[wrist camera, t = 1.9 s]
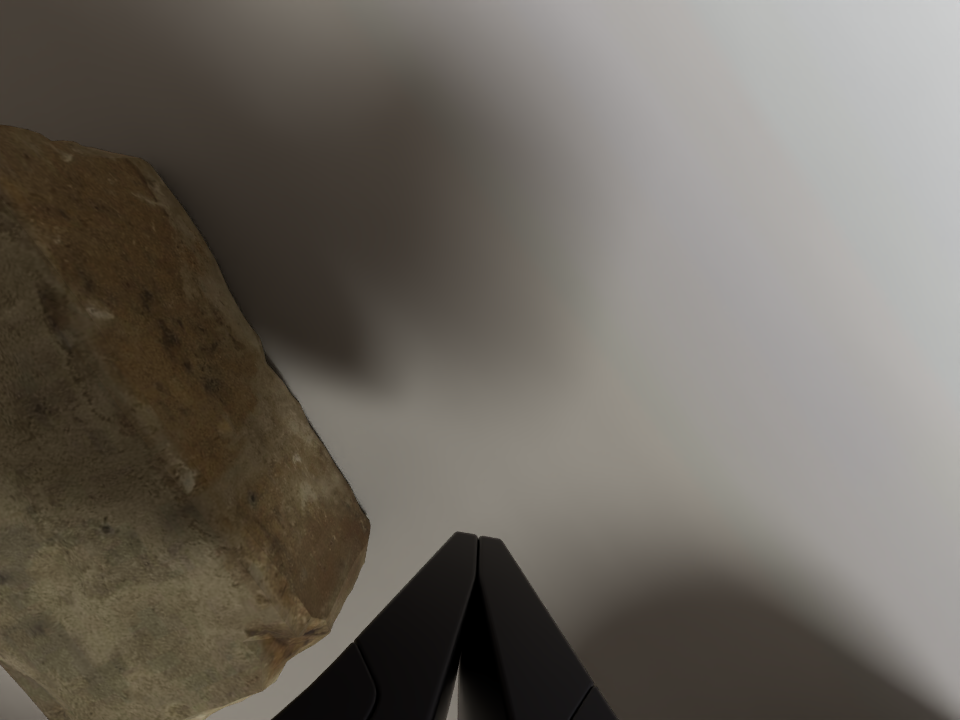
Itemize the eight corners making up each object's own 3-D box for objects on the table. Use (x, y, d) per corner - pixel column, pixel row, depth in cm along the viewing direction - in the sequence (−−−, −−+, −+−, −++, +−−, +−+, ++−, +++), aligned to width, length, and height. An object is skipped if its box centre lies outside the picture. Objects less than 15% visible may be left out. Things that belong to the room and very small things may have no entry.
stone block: (225, 604, 14) (75, 799, 9) (-35, 246, 12) (-420, 247, 7) (395, 529, 13) (331, 699, 8) (149, 127, 11) (-141, 30, 6)
